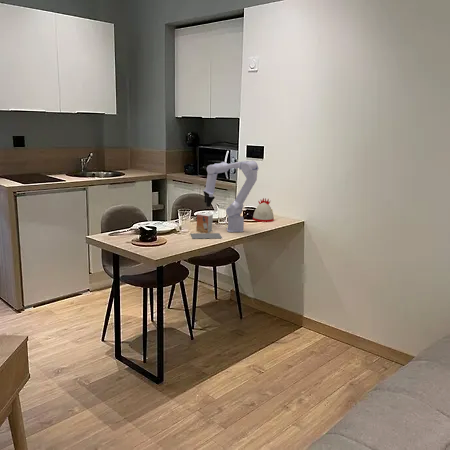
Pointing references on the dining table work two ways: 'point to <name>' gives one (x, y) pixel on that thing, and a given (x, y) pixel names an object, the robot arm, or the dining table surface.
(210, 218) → the small box
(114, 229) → the dining table surface
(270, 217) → the spiked white dome
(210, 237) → the mat
